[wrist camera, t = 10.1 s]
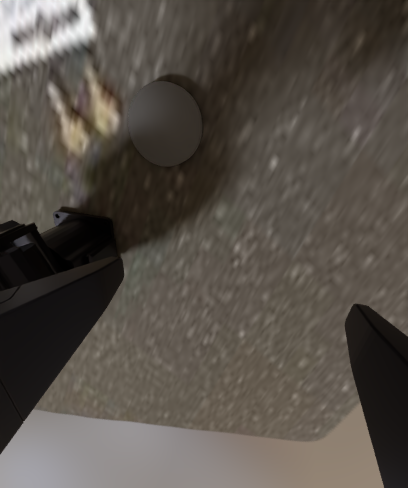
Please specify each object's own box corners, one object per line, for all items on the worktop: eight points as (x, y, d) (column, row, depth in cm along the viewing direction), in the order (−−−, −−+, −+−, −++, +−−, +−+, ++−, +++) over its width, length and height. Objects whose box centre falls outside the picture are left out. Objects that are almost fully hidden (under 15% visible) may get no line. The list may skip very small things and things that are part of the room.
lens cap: (134, 161, 21) (130, 162, 20) (130, 80, 18) (124, 78, 18) (200, 168, 20) (198, 170, 20) (205, 84, 18) (203, 83, 17)
